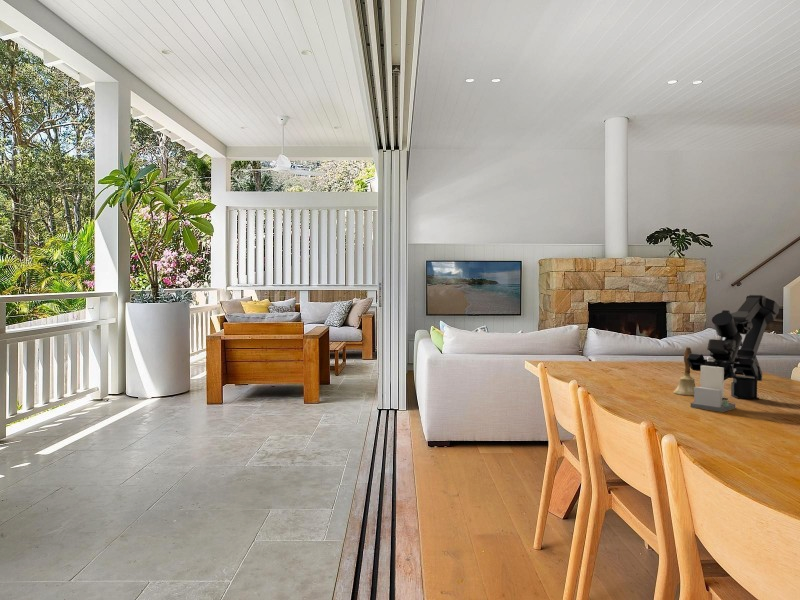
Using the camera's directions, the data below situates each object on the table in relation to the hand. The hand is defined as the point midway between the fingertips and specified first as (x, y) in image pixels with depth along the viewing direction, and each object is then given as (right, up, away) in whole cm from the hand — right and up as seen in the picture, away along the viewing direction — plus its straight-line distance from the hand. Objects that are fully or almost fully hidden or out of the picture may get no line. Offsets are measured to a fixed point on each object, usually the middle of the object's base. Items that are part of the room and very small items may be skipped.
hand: (713, 385), depth 168 cm
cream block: (-1, -5, -1) cm, 5 cm away
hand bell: (+4, -7, +23) cm, 24 cm away
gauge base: (0, -7, 0) cm, 7 cm away
